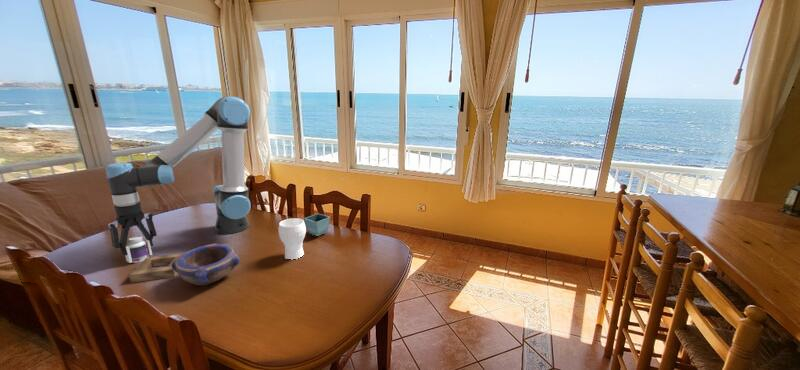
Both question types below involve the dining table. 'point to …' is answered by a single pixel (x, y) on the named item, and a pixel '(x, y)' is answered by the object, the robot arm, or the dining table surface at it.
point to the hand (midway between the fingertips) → (139, 257)
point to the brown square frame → (147, 273)
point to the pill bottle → (137, 249)
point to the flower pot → (317, 224)
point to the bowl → (206, 264)
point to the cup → (292, 237)
